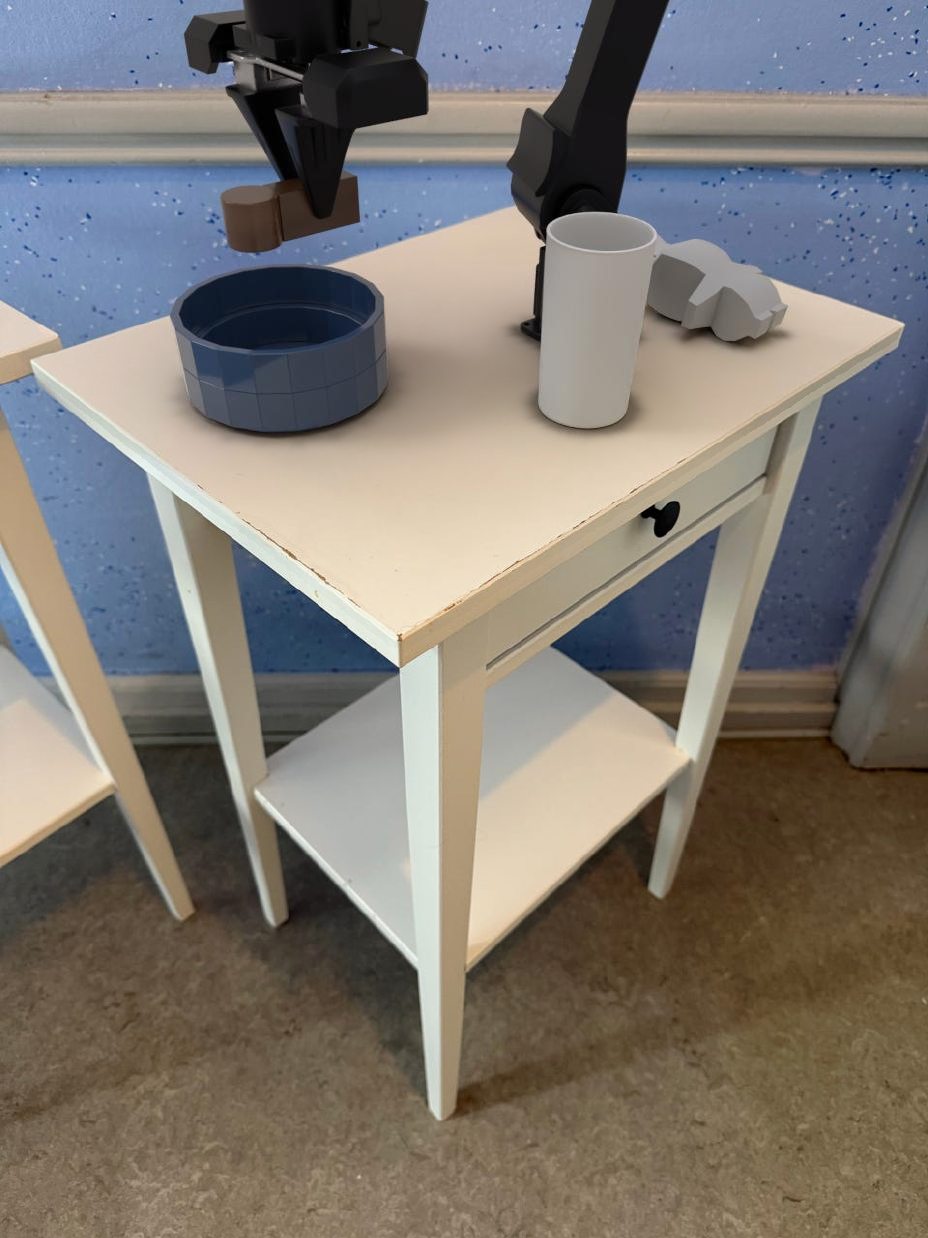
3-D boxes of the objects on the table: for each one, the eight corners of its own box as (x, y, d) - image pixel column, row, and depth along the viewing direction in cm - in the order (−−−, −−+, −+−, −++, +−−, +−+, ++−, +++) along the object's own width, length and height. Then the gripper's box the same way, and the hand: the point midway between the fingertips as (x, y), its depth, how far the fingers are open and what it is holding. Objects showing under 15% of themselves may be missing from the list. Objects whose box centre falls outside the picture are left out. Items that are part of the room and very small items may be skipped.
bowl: (427, 393, 65) (426, 312, 61) (252, 461, 58) (237, 376, 54) (318, 324, 73) (311, 248, 69) (153, 377, 66) (134, 297, 62)
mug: (597, 442, 60) (620, 261, 52) (515, 409, 63) (524, 233, 55) (671, 385, 66) (702, 213, 58) (592, 357, 69) (611, 191, 61)
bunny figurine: (748, 312, 66) (590, 232, 72) (726, 373, 70) (578, 292, 76) (814, 275, 71) (661, 203, 77) (790, 334, 75) (647, 261, 81)
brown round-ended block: (366, 225, 62) (364, 178, 60) (244, 257, 57) (237, 208, 55) (337, 210, 64) (333, 164, 62) (217, 240, 59) (209, 192, 57)
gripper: (507, -75, 48) (496, 226, 59) (318, -105, 59) (337, 155, 70) (330, -60, 43) (353, 267, 54) (157, -96, 54) (205, 184, 64)
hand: (313, 211), depth 61 cm, fingers closed on brown round-ended block, 2 cm apart
